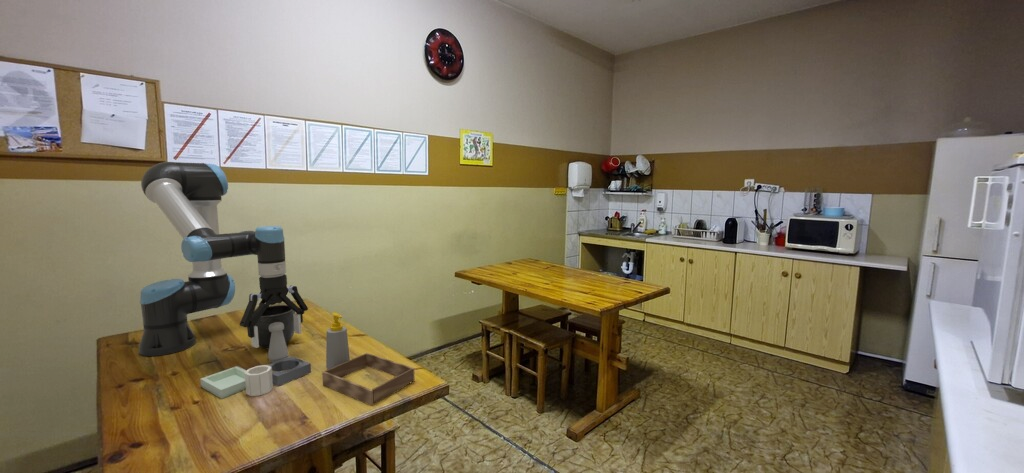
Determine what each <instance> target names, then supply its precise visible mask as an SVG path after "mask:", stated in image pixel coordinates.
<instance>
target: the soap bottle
mask: <svg viewBox="0 0 1024 473" xmlns="http://www.w3.org/2000/svg"><path fill="white" fill-rule="evenodd" d="M331 315H332V316H333V322H332V323H331V324H332V325H331V326H330V328H327V329H326V340H325V341H326V344H325V345H326V346H325V347H326V348H325V349H326V355H325V356H326V358H325V359H326V363H325V364H326V365H325V366H326V367H325V368H326V370H328V369H330V368H333V367H335V366H337V365H340V364H342V363H344V362H347V361H349V360H351V359H350V348H349V338H348V329H347V327H346V326H343V325H342V324H341V321H339V318H340V319H342V318H343V317H342V315H341V314H340V313H338V312H332V313H331Z"/></svg>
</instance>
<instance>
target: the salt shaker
mask: <svg viewBox="0 0 1024 473" xmlns="http://www.w3.org/2000/svg"><path fill="white" fill-rule="evenodd" d="M283 329H284V324H283V323H282V322H275V323H272V324H270V325H269V331H270V332H271V339H270V345H269V349H268V353H267V358H268V360H269V362H270V364H271V363H274V362H277V361H279V360H282V359H285V358H288V357H289V350H288V347H287V346H288V345H287V344H286V342H285V338H284V335H283V331H282V330H283Z"/></svg>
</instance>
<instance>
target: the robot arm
mask: <svg viewBox="0 0 1024 473" xmlns="http://www.w3.org/2000/svg"><path fill="white" fill-rule="evenodd" d="M140 186H141V190H142V192H143V194H144V196H145V197H146V198H147V199H148V200H149V201H151V202H152V203H153V204H154V203H155V204H156V205H157V206H158V208H160V210H161V211H162V213H163V214H164V215H165V216H166V218H167V219H168V221H169V222H170V223H171V225H172V226H173V227H174V228H175V230H176V231H177V232H178V234H179V236H181V238H182V239H183V240H182V241H181V244H180V245H181V246H180V249H181V253H182V254H183V258H184V259H185V260H186V261H188V262H190V263H192V271H191V272H190V273H189V274H188V275H187V277H188V280H187V281H184V279H181V278H171V279H164V280H160V281H156V282H152V283H149V284H147V285H146V286H144V287H142V289H141V290H140V292H139V293H140V298H139V299H140V300H139V304H140V306H141V315H142V316H141V317H142V326H143V332H142V335H141V338H140V341H139V345H138V352H139V355H140V356H145V357H154V356H155V357H157V356H164V355H170V354H174V353H179V352H181V351H184V350H186V349H188V348H192V347H193V346H194V345H195V344H196V343H197V342H196V335H195V334H194V332H193V330H192V328H191V327H190V325H189V322H188V315H191V314H193V313H194V314H195V313H198V312H203V311H206V310H212V309H218V308H220V307H224V306H227V305H229V304H231V302H232V301H233V300H234V297H235V295H236V294H235V293H236V284H235V283H236V282H235V281H234V278H233V277H232V276H231V275H230V274H228V271H227V270H225V269H224V268H222V259H230V258H236V257H237V258H238V257H243V256H244V257H245V256H250V255H251V256H256V257H257V269H258V276H259V277H258V281H259V282H258V284H259V288H260V289H259V291H260V292H259V293H250V294H249V295H248V303H247V306H246V307H245V310H244V313H243V315H242V318H241V320H240V322H239V327H243V328H247V329H246V330H247V336H248V338H250V339H251V342H250V343H251V347H253V348H256V349H257V348H260V345H259V340H258V328H257V326H255V324H256V323H257V321H258V320H259V319H260V317H261V316H262V314H263V313H264V311H265V310H266V308H268V307H269V306H272V305H277V304H282V303H284V305H288V306H289V307H290V308H291V309H292V310H294V311H295V314H293V315H294V329H295V331H294V334H298V335H301V334H302V323H303V322H304V317H303V315H304V314H305V312H306V311H308V310H309V307H308V305H307V304H306V303H305V301H304V300H303V297H302V296H301V295H300V293H299V291H298V287H297V286H296V285H292V284H291V285H289V286H287V285H288V275H287V274H286V273H287V267H286V266H287V265H286V250H285V248H286V247H285V246H286V245H285V236H284V229H283V228H282V227H281V226H279V225H269V226H268V225H266V226H258V227H256V228H255V231H254V230H244V231H240V232H231V233H221V234H220V228H219V227H220V226H219V215H218V212H219V211H218V204H220V203H221V202H222V196H225V195H226V194H227V193H228V190H229V182H228V178H227V175H226V173H225V172H224V171H223V169H222V168H221V167H220V166H219V165H217V164H212V163H204V162H201V163H200V162H181V161H180V162H179V161H178V162H177V161H175V162H174V161H164V162H159V163H156V164H153V165H152V166H151V167H149V168H148V169H147V170H146V171H145V172H144V174H143V176H142V178H141V184H140ZM288 293H289V294H290V295H291V296H292V298H293V299H294V301H295V303H294V302H293V301H292V300H291V299H290V298H289V297H288V296H287V295H288ZM260 299H261V300H260ZM259 301H260V302H259ZM258 302H259V304H258ZM257 304H258V305H257ZM256 307H257V308H256ZM255 309H256V311H255V312H254V310H255ZM253 312H254V313H253ZM252 314H253V315H252Z"/></svg>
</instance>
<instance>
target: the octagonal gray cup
mask: <svg viewBox="0 0 1024 473" xmlns="http://www.w3.org/2000/svg"><path fill="white" fill-rule="evenodd" d="M245 385H246V389H245V394H246V395H248V396H249V397H257V396H263V395H265V394H267V393H269V392H271V391H272V389H273V388H274V384H273V379H272V367H270V366H268V364H263V365H256V366H254V367H250V368H248V369H247V371H246V372H245Z"/></svg>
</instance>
